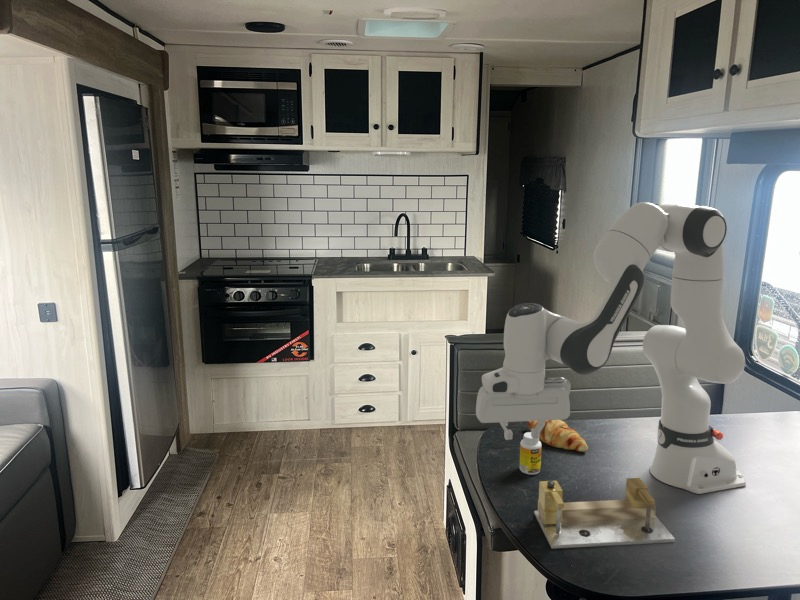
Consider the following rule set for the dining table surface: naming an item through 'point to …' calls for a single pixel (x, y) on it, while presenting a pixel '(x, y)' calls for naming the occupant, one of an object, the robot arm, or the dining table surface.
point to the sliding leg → (551, 503)
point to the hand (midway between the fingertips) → (521, 438)
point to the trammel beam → (613, 506)
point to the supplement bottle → (530, 454)
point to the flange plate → (605, 532)
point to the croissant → (560, 435)
